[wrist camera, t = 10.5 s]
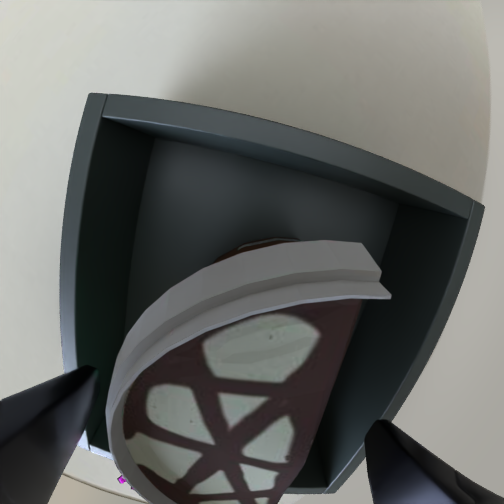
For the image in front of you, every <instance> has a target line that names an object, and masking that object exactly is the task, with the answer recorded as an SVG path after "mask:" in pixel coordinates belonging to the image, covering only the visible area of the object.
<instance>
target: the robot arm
mask: <svg viewBox="0 0 504 504" xmlns="http://www.w3.org/2000/svg"><path fill="white" fill-rule="evenodd" d="M99 392H100V377H99V370H98V369H97V368H95V367H93V366H90V365H84V366H81V367H79V368H77V369H74V370H72V371H70V372H67V373H65V374H63V375H60V376H58V377H56V378H53V379H51V380H48V381H46V382H44V383H41V384H39V385H36V386H34V387H32V388H29V389H27V390H24V391H22V392H19V393H17V394H14V395H12V396H9V397H7V398H4V399H2V400H1V401H0V504H47V503H48V502H49V499H50V497H51V495H52V493H53V491H54V489H55V487H56V485H57V483H58V481H59V479H60V477H61V475H62V473H63V471H64V469H65V467H66V465H67V463H68V461H69V459H70V457H71V456H72V454H73V452H74V450H75V448H76V446H77V444H78V442H79V440H80V439H81V437H82V435H83V433H84V431H85V428H86V426H87V423H88V420H89V418H90V415H91V413H92V410H93V408H94V405H95V403H96V400H97V398H98V395H99ZM364 444H365V453H366V462H367V472H368V478H369V483H370V488H371V493H372V498H373V503H374V504H504V498H503V497H501V496H499V495H496V494H495V493H493V492H491V491H489V490H487V489H486V488H484V487H482V486H480V485H478V484H477V483H475V482H473V481H471V480H470V479H468V478H467V477H465V476H464V475H462V474H461V473H460V472H458V471H457V470H455V469H454V468H452V467H451V466H450V465H448V464H447V463H445V462H444V461H443V460H441V459H440V458H438V457H437V456H436V455H434V454H433V453H431V452H430V451H429V450H427V449H426V448H425V447H423V446H422V445H421V444H419V443H418V442H416V441H415V440H414V439H413V438H411V437H410V436H408V435H407V434H406V433H405V432H403V431H402V430H401V429H399V428H398V427H397V426H395V425H394V424H393V423H392V422H390V421H389V420H387V419H377V420H376V421H375V422H374V423H373V424H372V426H371V427H370V429H369V430H368V432H367V433H366V435H365V438H364Z"/></svg>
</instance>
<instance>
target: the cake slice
mask: <svg viewBox="0 0 504 504" xmlns="http://www.w3.org/2000/svg"><path fill="white" fill-rule="evenodd" d="M381 273H382V271H381V269H380V268H379V267H378V265H377V264H376V262H375V261H374V260H373V258H372V257H371V255H370V254H369V253H368V251H367V250H366V248H365V247H364V246H363V244H362V243H355V242H343V241H331V240H318V241H305V242H304V241H302V240H300V239H298V238H287V237H271V238H266V239H261V240H256V241H251V242H246V243H243V244H241V245H240V246H238V247H236V248H234V249H232V250H231V251H229V252H227V253H225V254H223V255H222V256H220V257H218V258H217V259H216V260H215V261H214V263H213V264H212V265H210V266H208V267H205V268H203V269H201V270H199V271H198V272H196V273H194V274H193V275H191V276H190V277H188V278H186V279H185V280H183V281H181V282H180V283H178V284H176V285H175V286H173V287H171V288H170V289H169V290H168V291H167V292H165V293H164V294H163V295H162V296H161V297H160V298H159V299H157V300H156V301H155V302H154V303H153V304H152V305H151V306H150V307H148V308H147V309H146V310H145V311H144V313H143V314H142V315H141V317H140V318H139V319H138V321H137V322H136V323H135V325H134V326H133V327H132V329H131V330H130V331H129V333H128V334H127V336H126V338H125V340H124V343H123V345H122V347H121V349H120V351H119V354H118V356H117V359H116V363H115V367H114V371H113V375H112V379H111V383H110V387H109V392H108V398H107V404H106V410H105V412H106V423H107V433H108V441H109V448H110V452H111V454H112V457H113V459H114V462H115V464H116V467H117V468H118V470H119V471H120V473H121V474H122V476H123V477H124V479H125V480H126V482H127V483H128V484H129V485H130V486H131V487H132V488H133V489H134V490H135V491H136V492H137V493H138V494H139V495H140V496H141V497H143V498H144V499H145V500H146V501H148V502H149V503H150V504H277V503H278V502H279V500H280V498H281V497H282V495H283V494H284V492H285V491H286V489H287V488H288V487H289V486H290V484H291V483H292V482H293V481H294V479H295V478H296V476H297V475H298V473H299V472H300V470H301V469H302V467H303V466H304V464H305V462H306V459H307V457H308V454H309V452H310V449H311V447H312V444H313V441H314V439H315V436H316V433H317V430H318V427H319V424H320V422H321V419H322V416H323V414H324V411H325V408H326V405H327V402H328V399H329V397H330V394H331V391H332V388H333V386H334V383H335V381H336V378H337V375H338V373H339V370H340V367H341V364H342V362H343V359H344V356H345V353H346V350H347V347H348V344H349V341H350V338H351V335H352V332H353V329H354V326H355V323H356V320H357V317H358V313H359V310H360V307H361V303H362V300H363V299H391V296H392V295H391V294H390V293H389V292H388V291H387V290H386V289H385V288H384V287H383V286H382V284H381V283H380V282H379V279H380V277H381Z"/></svg>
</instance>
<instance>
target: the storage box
mask: <svg viewBox="0 0 504 504" xmlns="http://www.w3.org/2000/svg"><path fill="white" fill-rule="evenodd" d="M484 209H485V206H484V205H482V204H481V203H479V202H477V201H475V200H473V199H472V198H470V197H468V196H466V195H464V194H462V193H460V192H458V191H457V190H455V189H453V188H451V187H449V186H447V185H445V184H442V183H440V182H438V181H436V180H434V179H432V178H430V177H428V176H426V175H423V174H421V173H419V172H417V171H414V170H412V169H410V168H408V167H405V166H403V165H401V164H398V163H396V162H393V161H391V160H389V159H386V158H384V157H381V156H378V155H376V154H373V153H371V152H368V151H365V150H363V149H360V148H357V147H354V146H352V145H349V144H346V143H343V142H340V141H337V140H334V139H331V138H328V137H325V136H322V135H319V134H316V133H312V132H309V131H306V130H303V129H299V128H296V127H292V126H289V125H285V124H281V123H278V122H274V121H270V120H266V119H262V118H258V117H254V116H250V115H246V114H241V113H237V112H232V111H227V110H223V109H218V108H212V107H207V106H202V105H196V104H190V103H184V102H178V101H171V100H164V99H157V98H148V97H140V96H130V95H119V94H103V93H89V95H88V98H87V101H86V105H85V108H84V112H83V115H82V119H81V123H80V127H79V131H78V135H77V140H76V144H75V149H74V153H73V158H72V164H71V169H70V175H69V181H68V187H67V194H66V201H65V209H64V217H63V227H62V239H61V254H60V328H61V343H62V354H63V364H64V373H67V372H70V371H72V370H74V369H77V368H79V367H81V366H84V365H90V366H93V367H95V368H97V369H98V370H99V377H100V392H99V395H98V398H97V400H96V403H95V405H94V408H93V410H92V413H91V415H90V418H89V420H88V423H87V426H86V428H85V431H84V433H83V435H82V437H81V439H80V440H79V442H78V446H79V447H81V448H84V449H86V450H88V451H90V450H91V452H93V453H96V454H98V455H101V456H103V457H106V458H109V459H111V460H114V459H113V457H112V454H111V452H110V448H109V441H108V433H107V423H106V412H105V410H106V404H107V398H108V392H109V387H110V383H111V379H112V375H113V371H114V367H115V363H116V359H117V356H118V354H119V351H120V349H121V347H122V345H123V343H124V340H125V338H126V336H127V334H128V333H129V331H130V330H131V329H132V327H133V326H134V325H135V323H136V322H137V321H138V319H139V318H140V317H141V315H142V314H143V313H144V311H145V310H146V309H147V308H148V307H150V306H151V305H152V304H153V303H154V302H155V301H156V300H157V299H159V298H160V297H161V296H162V295H163V294H164V293H165V292H167V291H168V290H169V289H170V288H171V287H173V286H175V285H176V284H178V283H180V282H181V281H183V280H185V279H186V278H188V277H190V276H191V275H193V274H194V273H196V272H198V271H199V270H201V269H203V268H205V267H208V266H210V265H212V264H213V263H214V261H215V260H216V259H217V258H218V257H220V256H222V255H223V254H225V253H227V252H229V251H231V250H232V249H234V248H236V247H238V246H240V245H241V244H243V243H246V242H251V241H256V240H261V239H266V238H271V237H287V238H298V239H300V240H302V241H304V242H305V241H318V240H331V241H343V242H355V243H362V244H363V246H364V247H365V248H366V250H367V251H368V253H369V254H370V255H371V257H372V258H373V260H374V261H375V262H376V264H377V265H378V267H379V268H380V269H381V271H382V273H381V277H380V279H379V282H380V283H381V284H382V286H383V287H384V288H385V289H386V290H387V291H388V292H389V293H390V294H391V295H392V296H391V299H363V300H362V303H361V307H360V310H359V313H358V317H357V320H356V323H355V326H354V329H353V332H352V335H351V338H350V341H349V344H348V347H347V350H346V353H345V356H344V359H343V362H342V364H341V367H340V370H339V373H338V375H337V378H336V381H335V383H334V386H333V388H332V391H331V394H330V397H329V399H328V402H327V405H326V408H325V411H324V414H323V416H322V419H321V422H320V424H319V427H318V430H317V433H316V436H315V439H314V441H313V444H312V447H311V449H310V452H309V454H308V457H307V459H306V462H305V464H304V466H303V467H302V469H301V470H300V472H299V473H298V475H297V476H296V478H295V479H294V481H293V482H292V483H291V484H290V486H289V487H288V488H287V489H286V491H285V492H284V494H322V493H323V494H329V493H335V492H336V491H337V490H338V489H339V488H340V487H341V486H342V485H343V484H344V482H345V481H346V480H347V479H348V478H349V477H350V475H351V474H352V473H353V472H354V471H355V470H356V468H357V467H358V466H359V464H361V462H362V461H363V460H364V458H365V457H366V453H365V444H364V438H365V435H366V433H367V432H368V430H369V429H370V427H371V426H372V424H373V423H374V422H375V421H376V420H377V419H387V420H389V421H390V422H392V420H393V419H394V417H395V416H396V414H397V413H398V411H399V410H400V408H401V406H402V405H403V403H404V402H405V400H406V398H407V397H408V395H409V394H410V392H411V390H412V389H413V387H414V385H415V383H416V382H417V380H418V378H419V376H420V375H421V373H422V371H423V369H424V367H425V365H426V364H427V362H428V360H429V358H430V356H431V354H432V352H433V350H434V348H435V346H436V344H437V342H438V340H439V338H440V336H441V334H442V331H443V329H444V327H445V325H446V323H447V320H448V318H449V316H450V313H451V311H452V309H453V306H454V304H455V301H456V299H457V296H458V294H459V291H460V288H461V286H462V283H463V280H464V278H465V275H466V272H467V269H468V266H469V263H470V260H471V257H472V253H473V250H474V247H475V244H476V240H477V237H478V233H479V229H480V226H481V221H482V218H483V214H484Z"/></svg>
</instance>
